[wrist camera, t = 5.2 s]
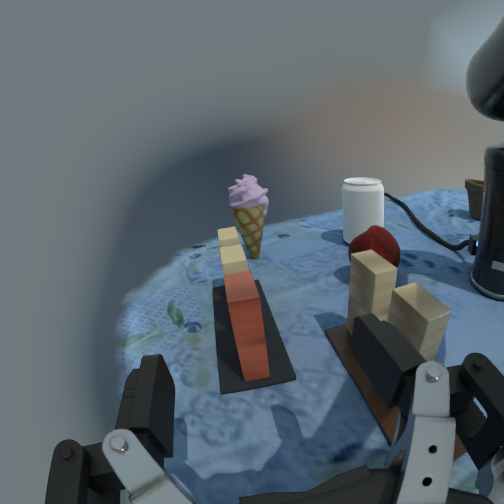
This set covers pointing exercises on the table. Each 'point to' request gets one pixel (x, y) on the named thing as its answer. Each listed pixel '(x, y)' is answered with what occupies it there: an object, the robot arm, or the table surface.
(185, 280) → the table surface
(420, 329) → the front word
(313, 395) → the table surface
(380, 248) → the apple
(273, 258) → the table surface
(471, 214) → the flower pot
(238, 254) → the back word
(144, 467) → the robot arm
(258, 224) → the ice cream cone
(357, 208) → the beverage can
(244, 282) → the orange rectangular block
